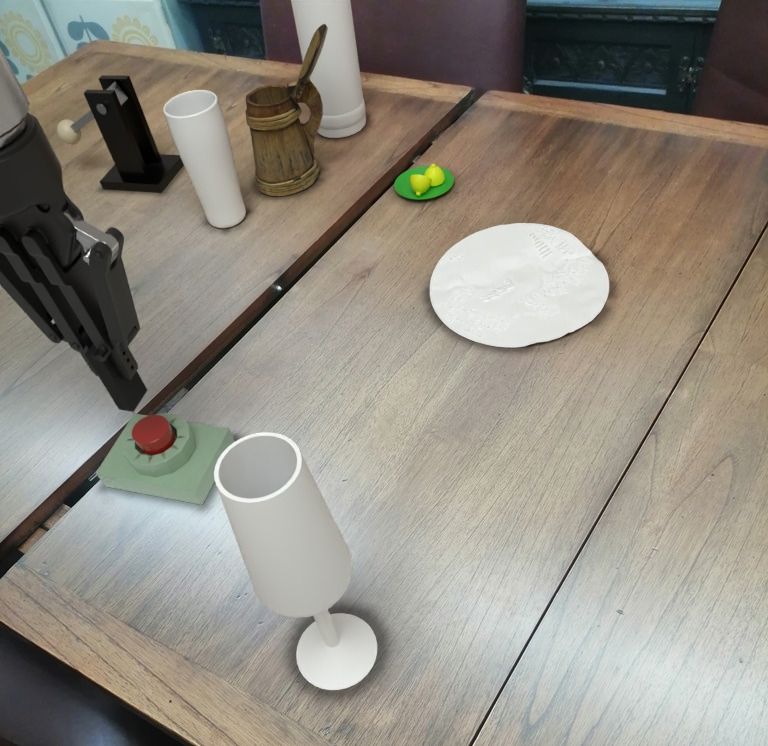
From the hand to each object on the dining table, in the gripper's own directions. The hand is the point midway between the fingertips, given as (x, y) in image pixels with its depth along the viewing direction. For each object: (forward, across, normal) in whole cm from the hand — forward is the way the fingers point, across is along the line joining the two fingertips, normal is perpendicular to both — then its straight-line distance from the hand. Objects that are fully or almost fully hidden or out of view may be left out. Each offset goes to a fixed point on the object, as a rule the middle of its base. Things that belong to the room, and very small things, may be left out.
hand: (133, 399), depth 62 cm
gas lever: (+2, -35, +50) cm, 61 cm away
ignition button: (+6, 0, 0) cm, 6 cm away
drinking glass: (+9, -12, +41) cm, 44 cm away
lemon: (+10, +13, +51) cm, 54 cm away
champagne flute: (+10, +23, -15) cm, 29 cm away
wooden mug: (+9, -5, +52) cm, 53 cm away
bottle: (+9, -4, +66) cm, 67 cm away
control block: (+9, 0, 0) cm, 9 cm away
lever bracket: (+9, -30, +50) cm, 59 cm away
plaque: (+10, +29, +32) cm, 44 cm away
